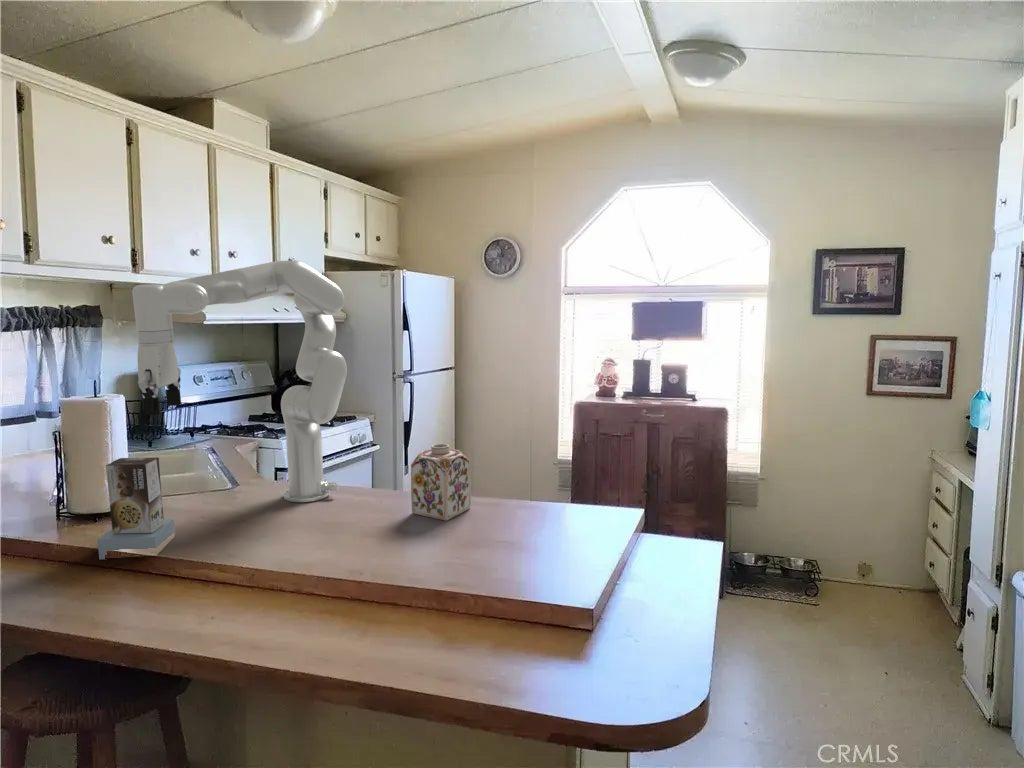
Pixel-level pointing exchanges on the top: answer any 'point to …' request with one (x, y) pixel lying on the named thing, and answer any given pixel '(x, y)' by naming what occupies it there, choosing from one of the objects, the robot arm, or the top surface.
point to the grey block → (135, 539)
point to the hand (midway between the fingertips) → (164, 409)
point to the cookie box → (135, 495)
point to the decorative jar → (440, 483)
